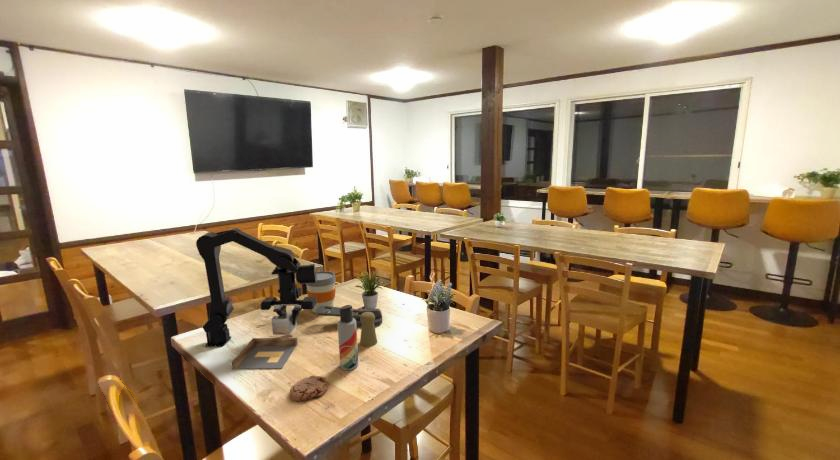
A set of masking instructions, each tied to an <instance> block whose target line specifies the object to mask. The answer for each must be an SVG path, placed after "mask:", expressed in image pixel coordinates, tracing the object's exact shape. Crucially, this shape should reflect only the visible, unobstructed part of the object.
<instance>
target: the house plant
mask: <svg viewBox="0 0 840 460" xmlns="http://www.w3.org/2000/svg"><path fill="white" fill-rule="evenodd" d="M377 273H378V271H376V272H375V270H373V271H372V274H371V277H370V275H369V272H368V271H366V275H365V274H364V272H362V271H361V276H362V278H360V277H358V276H356V278H357V279H358V281H360V282H361V283H362V284H361V285H359V284H357V285H355V286H354V287H355V288H360V289H363V290H364V291H363V292H362V293H361V298H362V302H363V306H364V309H377V308H378V307H377V306H378V299H379V292H378V291H377V290H379V289H381V290H383V287H381V286H382V285H383V284H382V283H383V281H381V282H379V280H380V279H383V278H385V277H384V276H385V275H386V274H382V275H380V276H378V277H376V276H377Z"/></svg>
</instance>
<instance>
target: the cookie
mask: <svg viewBox="0 0 840 460" xmlns="http://www.w3.org/2000/svg"><path fill="white" fill-rule="evenodd" d="M328 386H329V384H328V382H327V381H326V377H323V376H318V375H311V376H309V377H304V378H302V379H301V380H299V381H296V383H294V384H293V385H292V386H291V388H290V389H289V398H290V400H292V401H294V402H303V401H309V400H310V399H313V398H315V397H318V398H319V397H321V396H323V395H324V394H325V393H326V392H327V390H328Z"/></svg>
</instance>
